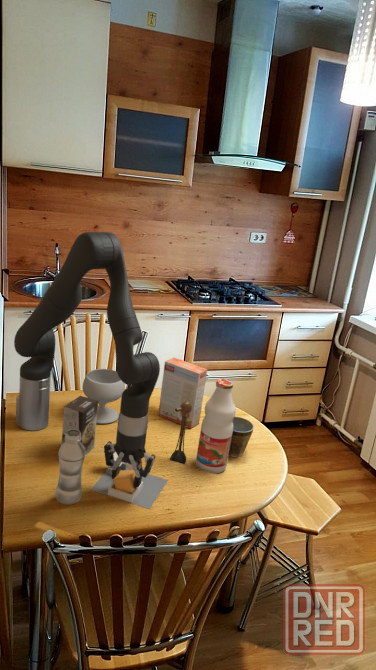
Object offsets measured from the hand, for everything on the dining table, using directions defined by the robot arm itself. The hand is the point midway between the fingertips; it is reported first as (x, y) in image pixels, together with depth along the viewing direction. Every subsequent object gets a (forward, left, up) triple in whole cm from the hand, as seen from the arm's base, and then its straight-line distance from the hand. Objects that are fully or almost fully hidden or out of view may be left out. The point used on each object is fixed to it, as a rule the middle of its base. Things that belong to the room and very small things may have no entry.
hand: (126, 483), depth 137 cm
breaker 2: (0, +7, -1) cm, 7 cm away
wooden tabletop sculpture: (+7, +22, -4) cm, 24 cm away
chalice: (-25, +35, -4) cm, 43 cm away
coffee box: (-21, +12, -4) cm, 25 cm away
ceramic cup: (+20, +37, -4) cm, 43 cm away
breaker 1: (-6, +7, -1) cm, 10 cm away
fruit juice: (+17, +25, -4) cm, 31 cm away
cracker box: (-1, +47, -4) cm, 47 cm away
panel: (0, +3, -4) cm, 5 cm away
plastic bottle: (-12, -9, -4) cm, 15 cm away
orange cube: (+1, 0, -1) cm, 1 cm away
